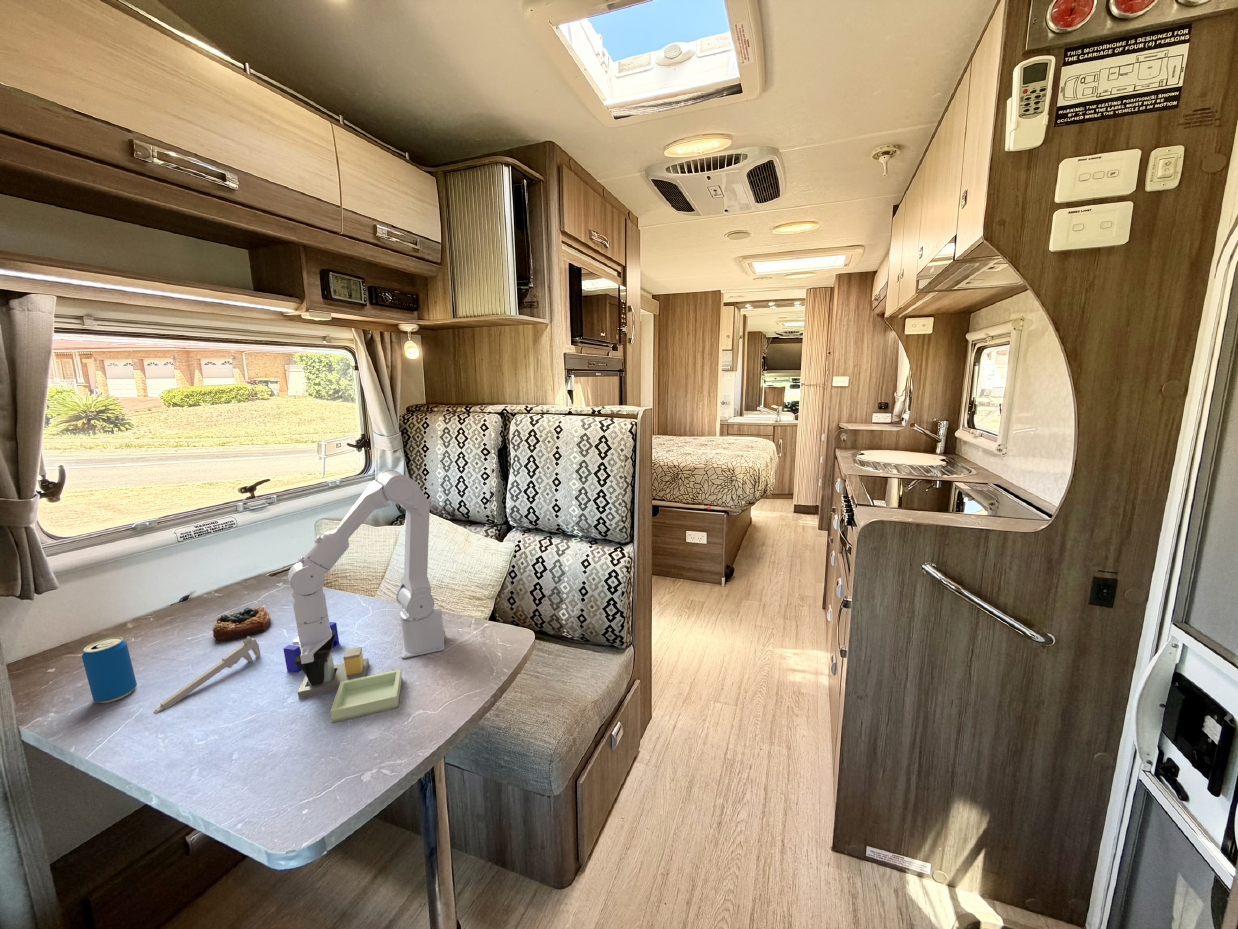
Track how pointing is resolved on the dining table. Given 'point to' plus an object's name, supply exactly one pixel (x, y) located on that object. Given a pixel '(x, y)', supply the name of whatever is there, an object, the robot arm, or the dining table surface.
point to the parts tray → (367, 695)
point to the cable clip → (295, 651)
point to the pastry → (241, 624)
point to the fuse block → (339, 674)
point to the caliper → (214, 671)
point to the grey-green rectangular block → (328, 667)
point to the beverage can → (109, 669)
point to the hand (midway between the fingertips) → (321, 674)
